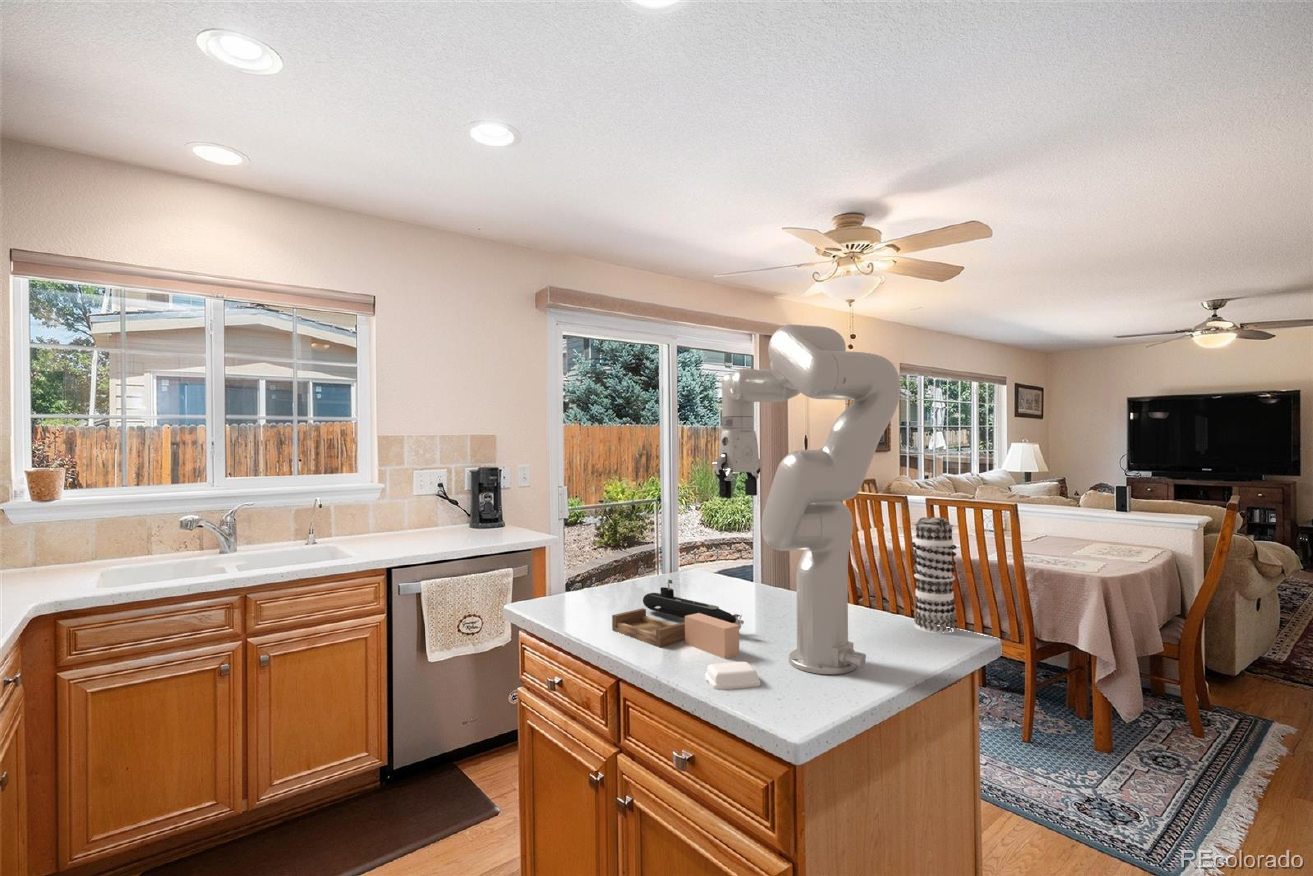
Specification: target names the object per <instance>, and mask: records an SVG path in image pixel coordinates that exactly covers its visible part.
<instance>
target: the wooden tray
mask: <svg viewBox="0 0 1313 876" xmlns="http://www.w3.org/2000/svg"><path fill="white" fill-rule="evenodd" d="M611 618H612V621H611V622H612V623H611V625H612V628H611V629H612V630H613V632H615V633H618V632H619V633H618V634H620V633H621V634H622V635H623V634H624V636H627V637H629V636H630V637H629V638H632V639H634V638H635V640H637V641H640V642H643V641H644V643H646V644H649V645H652V646H655V647H657V646H658V648H663V647H666V646H670V645H673V644H676V643H680V642H683V641H685V621H682V622H678V623H674V624H673V623H669V622H666V621H663V620H660V619H657V618H654V617H649V616H647V609H646V608H643V607H642V608H638V609H634V610H629V611H626V612H620V613H616V614H613V615H612V616H611Z"/></svg>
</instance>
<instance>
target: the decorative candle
mask: <svg viewBox="0 0 1313 876" xmlns="http://www.w3.org/2000/svg"><path fill="white" fill-rule="evenodd" d="M913 525H914V526H915V537H914V541H913V542H911V545H912V547H913V548H914V549H913V551H912V552H911V554H912V555H913V556H914V557H913V558H912V561H913V563H914V567H912V569H913V570H914V573H913V577H914V578H915V579H916V582H915V584H916V588H915V596H914V597H913V599H914V601H915V602H916V603H914V604H913V606H914V608H915V610H914V612H913V615H914V616H915V618H914V620H913V621H914V623H915V625H914V628H917V629H916V630H919V631H921V632H924V633H929V632H935V633H934V634H936V633H943V632H944V633H948V634H952V629H951V628H954V629H955V626H956V625H957V624H956V622H955V620H956V619H957V616H956V615H955V613H954V612H955V611H956V608H955V606H954V605H955V604H956V600H955V599H954V598H955V597H954V592H955V591H953V590H954V589H953V588H954V587H953V586H954V584H953V581H954V580H956V577H955V576H954V575H953V573H955V572H956V570H957V569H956V568H954V566H955V565H956V564H957V563H956V561H954V559H953V558H955V557H956V556H957V553H956V551H955V550H956V549H957V545H955V544H954V539H953V527H954V525H952V524H951V522H950V521H949V520H948V519H947V518H944V517H935V516H934V517H930V516H929V517H928V516H927V517H925V516H924V517H921V518H919V519H918V521H917V522H916V523H914V524H913ZM937 625H940V626H937ZM946 627H950V628H946ZM949 631H951V632H949ZM955 631H956V630H955ZM955 631H953V633H955Z"/></svg>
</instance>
